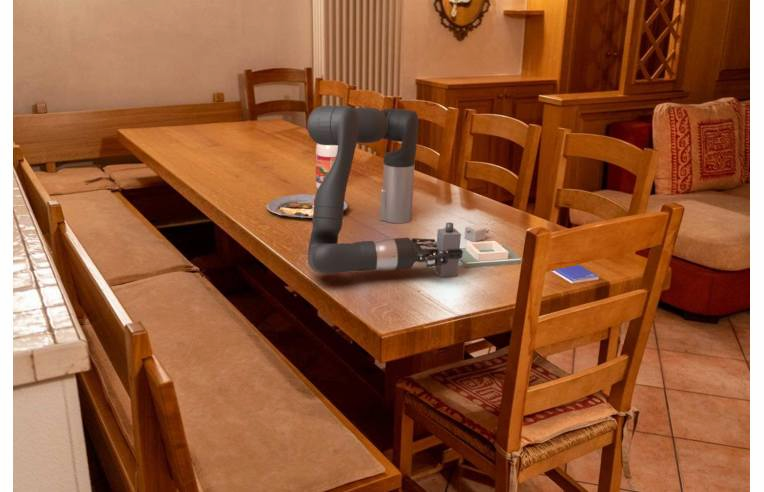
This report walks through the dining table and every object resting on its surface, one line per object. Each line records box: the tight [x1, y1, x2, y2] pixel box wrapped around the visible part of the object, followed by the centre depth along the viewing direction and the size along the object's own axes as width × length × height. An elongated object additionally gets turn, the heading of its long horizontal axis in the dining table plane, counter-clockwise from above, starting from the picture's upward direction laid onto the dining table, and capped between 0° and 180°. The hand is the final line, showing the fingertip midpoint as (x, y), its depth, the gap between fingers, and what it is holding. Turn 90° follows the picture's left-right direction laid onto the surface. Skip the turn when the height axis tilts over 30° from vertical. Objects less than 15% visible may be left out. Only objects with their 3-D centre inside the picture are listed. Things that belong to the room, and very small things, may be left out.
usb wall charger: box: [463, 223, 490, 243], centre depth 195 cm, size 4×7×4 cm, turn 130°
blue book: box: [551, 264, 600, 285], centre depth 175 cm, size 2×8×12 cm
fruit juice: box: [315, 143, 338, 189], centre depth 235 cm, size 9×9×28 cm
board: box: [459, 240, 523, 269], centre depth 182 cm, size 16×11×3 cm
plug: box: [434, 222, 462, 278], centre depth 169 cm, size 5×4×13 cm
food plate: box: [266, 193, 350, 219], centre depth 215 cm, size 25×23×4 cm
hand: (457, 249), depth 170 cm, fingers closed on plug, 4 cm apart
